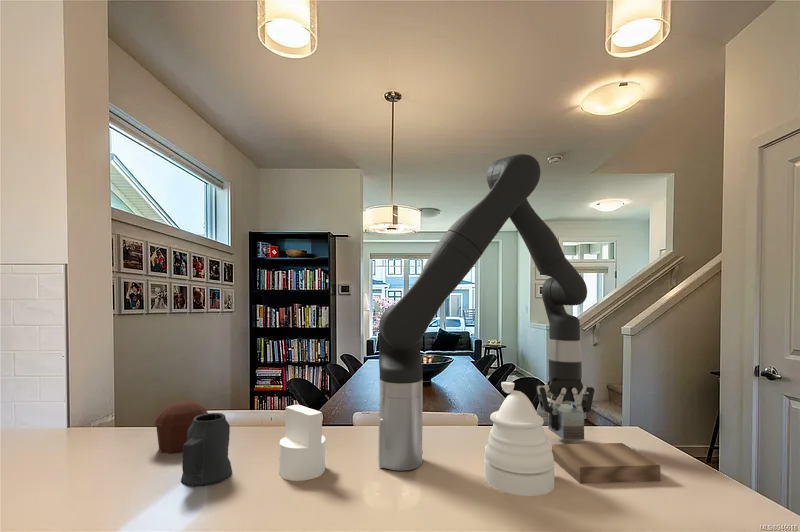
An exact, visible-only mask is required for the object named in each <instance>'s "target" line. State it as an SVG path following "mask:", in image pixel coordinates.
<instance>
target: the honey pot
mask: <svg viewBox="0 0 800 532" xmlns="http://www.w3.org/2000/svg"><path fill="white" fill-rule="evenodd" d="M500 383H501V384H500V386H501V388H502V390H503V392H504V393H506V394H508V395H507V396H506V397H505V398H504V401H503V402H502V404H501V405H500V407H499V408H498V410H496V411H494V412H492V413H491V414H490V417H489V419H490V421H491V422H493V425H492V428H491V429H490V430H489V436H488V438H487V443H486V445H485V447H484V456H483V457H484V460H483V461H484V463H483V464H484V465H483V466H484V480H485V482H486V484H487V483H488V485H489V486H490V487H492V488H494V489H496V490H497V491H501V492H503V493H505V494H510V495H514V496H520V497H521V496H522V497H524V496H525V497H535V496H536V497H537V496H544V495H546V494H550V492H552V491H553V490H554V488H555V466H554V465H555V464H554V462H555V461H554V457H553V454H552V449H551V446H550V443H549V441H548V435H547V434H546V433H545V430H544V427H543V425H544V423H545V421H544V418H543V417H542V416H540V415H539V414H538V413H537V411H536V408H535V406H534V404H533V403H532V402H531V400H530V399H529V397H528V396H527V395H526V394H525V393H524V392H522V391H520V390H514V388H515V383H514V382H512V381H501V382H500Z"/></svg>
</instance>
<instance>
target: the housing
mask: <svg viewBox="0 0 800 532" xmlns="http://www.w3.org/2000/svg"><path fill="white" fill-rule="evenodd" d="M547 415H548V417H547V420H548V421H547V427H548V430H549V431H551V432H552V433H554V434H555V435H556V436H558V437H559V438H560V439H562V440H563V441H564V440H567V441H569V440H572V441H573V440H574V441H575V440H578V441H579V440H585V413H583V412H581V411H579V410H577V409H575V408H573V407H572V405H571V404H568V403H561V406H560V407H559V409H558V412H557V414H556V415H557V416H558V430H557V431H554V430H553V429H551V427H550V426H549V413H548V412H547Z"/></svg>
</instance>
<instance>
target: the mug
mask: <svg viewBox="0 0 800 532" xmlns="http://www.w3.org/2000/svg"><path fill="white" fill-rule="evenodd" d="M230 426H231V425H230V424H229V422H228V421H227V419H226V414H224V413H221V412H209V413H207V414H202V415H198V416H196V417H195V418H194V419H193V423H192V424H191V426H190V427H189V429H188V433H187V442H186V443H185V444H184V445H183V453H182V457H181V458H182V459H181V460H182V461H181V463H182V464H181V465H182V466H181V468H182V474H181V478H180V483H181V484H182V485H183V486H186V487H191V488H200V487H201V488H203V487H209V486H213V485H216V484H220V483H222V482H224V481H227V480H228V479H229V478H230V477H232V475H233V469H232V464H231V460H230V458H229V444H230V433H231V431H230V430H231V429H230V428H231V427H230Z"/></svg>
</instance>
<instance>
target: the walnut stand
mask: <svg viewBox="0 0 800 532" xmlns="http://www.w3.org/2000/svg"><path fill="white" fill-rule="evenodd" d="M551 452H552V454H553V457H554V461H553V462H555V463H556V464H558V466H560V468H562V469H563V470H564V471H565V472H567V473H568V475H570V476H571V477H572V478H573V479H574V480H575V481H577V482H578V483H579V484H610V483H611V484H612V483H638V482H639V483H646V482H647V483H648V482H662V477H661V475H662V473H661V472H662V471H661V464H660V463H658V462H656V461H655V460H652V459H650V458H649V457H647V456H646V455H643V454H642V453H640V452H639V451H637V450H635V449H633V448H632V447H630V446H628V445H627V444H625V443H622V442H611V443H609V442H608V443H603V442H602V443H565V444H561V443H560V444H559V443H558V444H557V443H555V444H551Z"/></svg>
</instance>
